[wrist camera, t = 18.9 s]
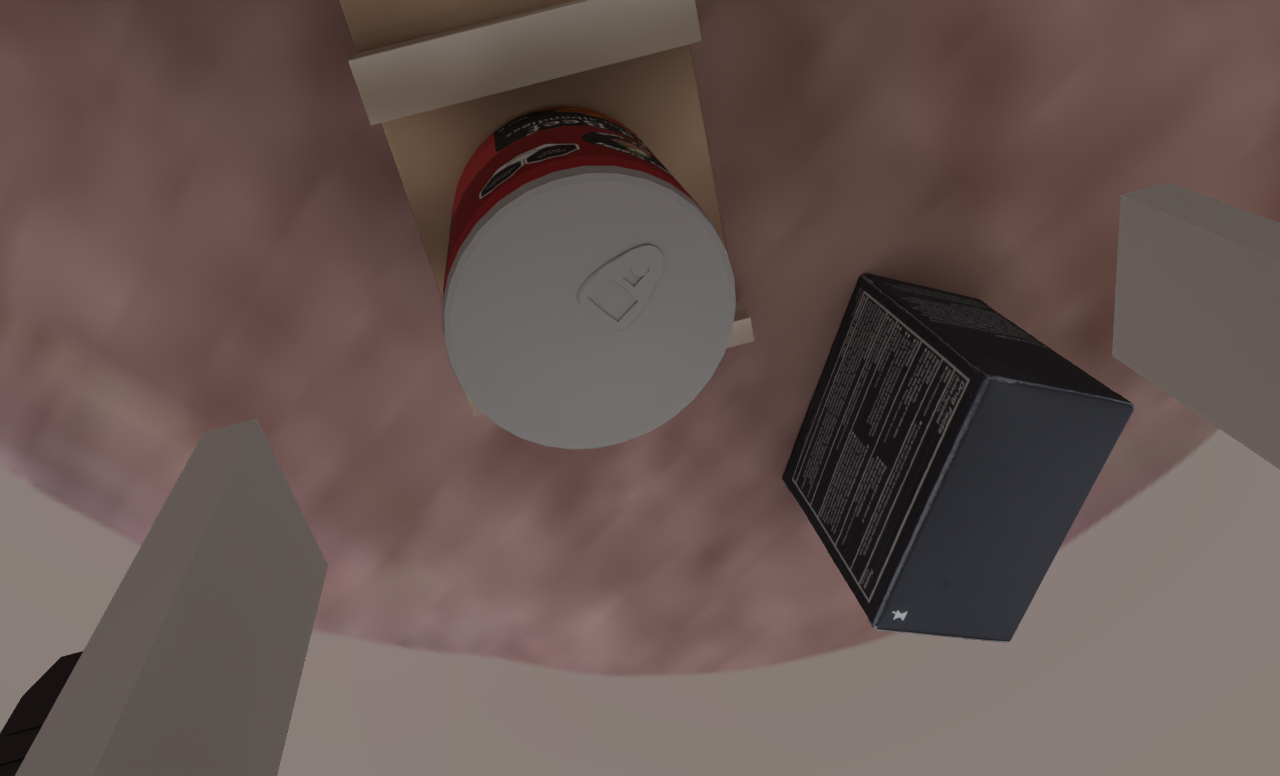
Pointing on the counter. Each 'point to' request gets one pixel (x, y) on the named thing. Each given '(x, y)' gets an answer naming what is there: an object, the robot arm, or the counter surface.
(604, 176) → the canned food
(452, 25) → the notched rail
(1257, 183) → the counter surface
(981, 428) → the small box
